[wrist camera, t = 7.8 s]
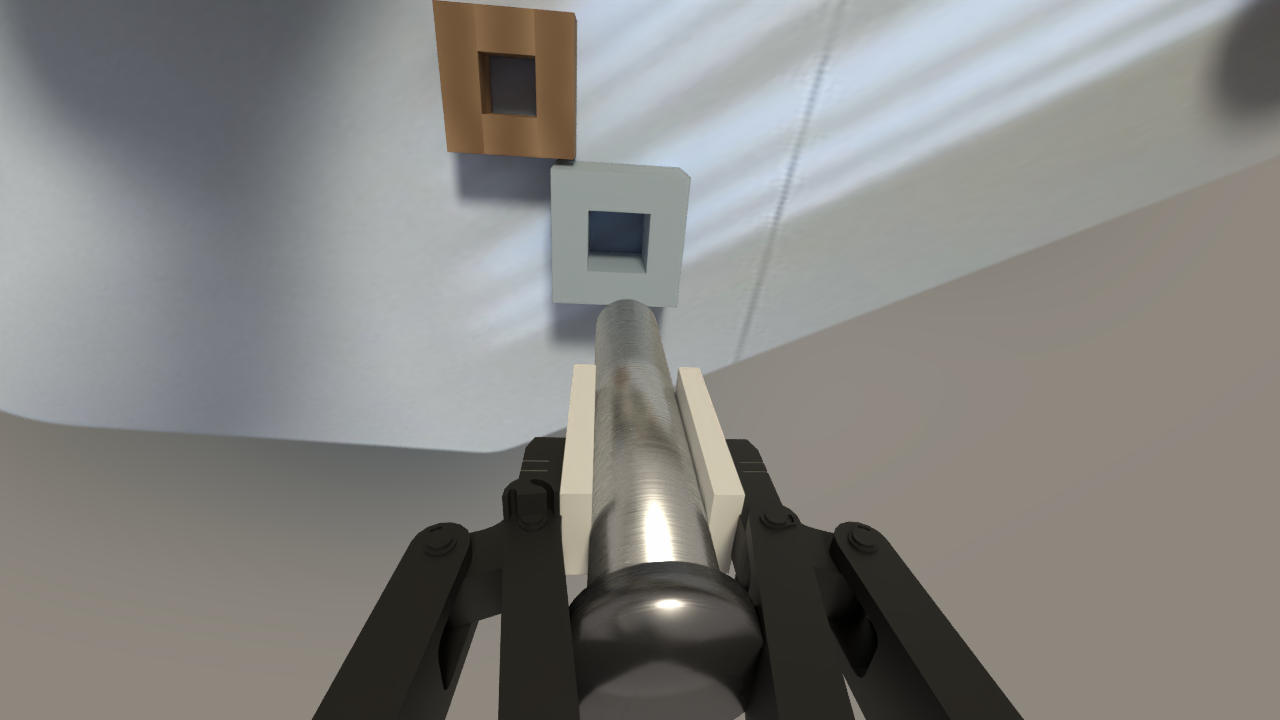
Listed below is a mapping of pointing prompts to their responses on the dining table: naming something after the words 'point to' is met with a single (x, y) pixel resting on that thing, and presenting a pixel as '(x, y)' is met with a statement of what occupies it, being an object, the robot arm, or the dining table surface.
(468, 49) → the mount block
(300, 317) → the dining table surface
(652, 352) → the lock pin
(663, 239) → the socket block
